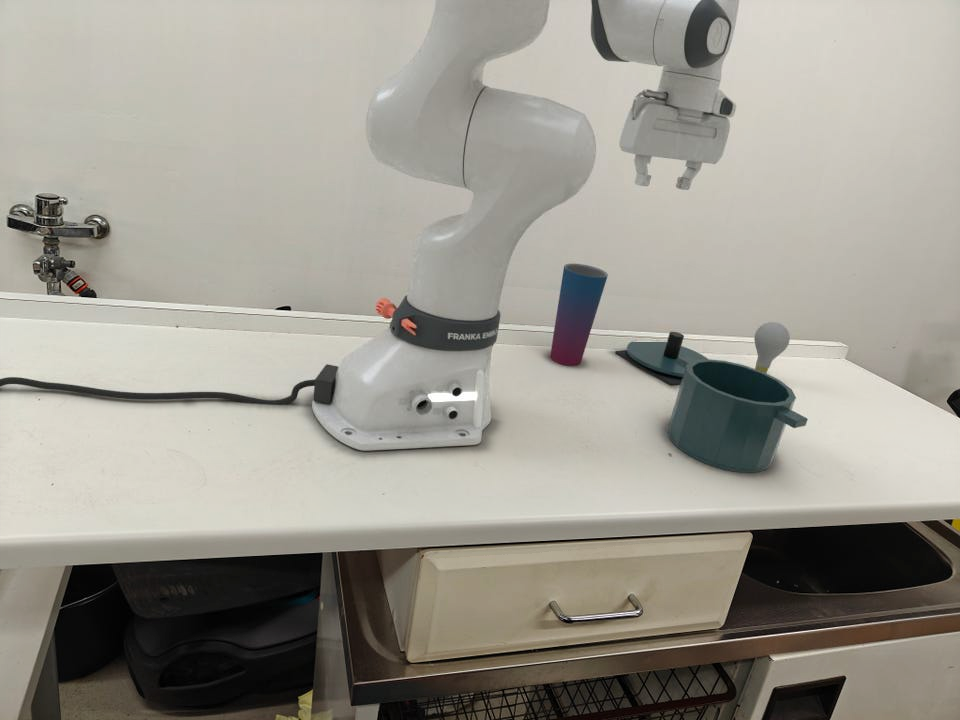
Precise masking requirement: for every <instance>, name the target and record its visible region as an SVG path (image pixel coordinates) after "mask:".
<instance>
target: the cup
mask: <svg viewBox="0 0 960 720" xmlns="http://www.w3.org/2000/svg"><path fill="white" fill-rule="evenodd" d="M608 276H609V274H608V273H607V271H605V270H604V269H601V268H599V267H595V266H592V265H588V264H583V263H565V264H564V265H563V271H562V277H561V284H560V289H559V290H560V291H559V296H558V297H559V298H558V302H557V303H558V304H557V309H556V315H555V323H554V329H553V336H552V343H551V347H550V355H549V356H550V359H551V360H552V361H553V362H556V363H557V364H560V365H564V366H569V367H575V366H579V365H581V363H582V361H583V357H584V354H585V350H586V347H587V344H588V340H589V337H590V335H591V332H592V327H593V325H594V321H595V318H596V315H597V312H598V308H599V306H600V302H601V298H602V296H603V293H604V289H605V286H606V282H607V279H608Z"/></svg>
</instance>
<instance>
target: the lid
mask: <svg viewBox="0 0 960 720" xmlns="http://www.w3.org/2000/svg"><path fill="white" fill-rule="evenodd" d="M684 338H685V335H684V334H683V333H681V332H677V331H669V333H668V337H667V340H666V341H664V342H633V341H634V340H633V341H630V342H629V343H628V344H627V346H626V350H627V353H628V354H629V356H630V357H631V358H632V359H634V360H635V361H637V362H638V363H640V364H642V365H644V366H646V367H648V368H651V369H653V370H656V371H659V372H662V373H665V374H669V375H674V376H679V377H683V375H684V372H685V368H683V367H681V366H679V365H678V364H676V361H677V358H678V357H684V356H690V357H692V358H694V359H696V360H703V359H709V358H708V357H707V356H704V355H703V354H701V353H699V352H697V351H696V350H693V349H691V348H688V347H686V346H683V341H684Z"/></svg>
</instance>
